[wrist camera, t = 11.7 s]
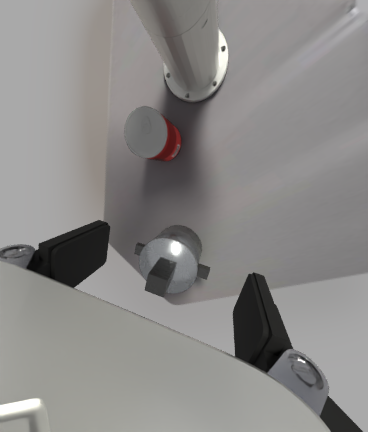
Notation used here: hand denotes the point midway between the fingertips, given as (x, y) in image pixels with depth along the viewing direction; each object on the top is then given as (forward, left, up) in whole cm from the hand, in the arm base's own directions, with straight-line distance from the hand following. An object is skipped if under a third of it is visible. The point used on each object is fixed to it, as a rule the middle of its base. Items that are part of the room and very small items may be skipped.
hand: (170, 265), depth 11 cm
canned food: (-9, -13, -31) cm, 34 cm away
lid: (+15, -4, -21) cm, 26 cm away
